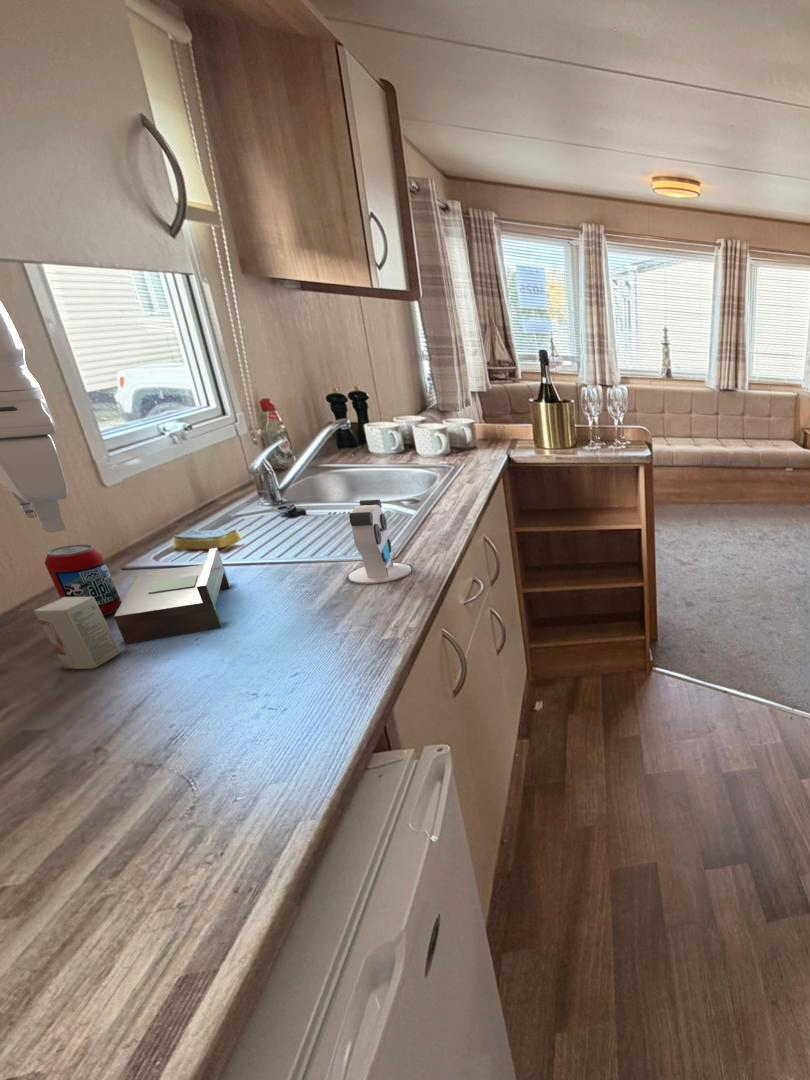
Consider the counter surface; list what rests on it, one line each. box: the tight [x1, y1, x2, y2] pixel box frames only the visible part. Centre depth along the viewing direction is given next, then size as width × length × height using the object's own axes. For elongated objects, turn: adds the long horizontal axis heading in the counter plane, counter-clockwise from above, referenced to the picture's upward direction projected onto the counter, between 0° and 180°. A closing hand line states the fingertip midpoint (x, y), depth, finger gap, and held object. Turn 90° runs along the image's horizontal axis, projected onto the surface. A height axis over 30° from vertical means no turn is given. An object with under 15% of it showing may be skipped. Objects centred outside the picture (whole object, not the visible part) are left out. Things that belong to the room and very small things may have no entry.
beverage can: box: [44, 544, 122, 617], centre depth 111 cm, size 7×7×12 cm
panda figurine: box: [348, 499, 412, 585], centre depth 132 cm, size 12×11×15 cm
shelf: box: [113, 547, 231, 645], centre depth 114 cm, size 12×22×8 cm, turn 36°
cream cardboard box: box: [33, 597, 121, 670], centre depth 97 cm, size 5×4×10 cm
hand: (45, 523), depth 83 cm, fingers open, 8 cm apart
